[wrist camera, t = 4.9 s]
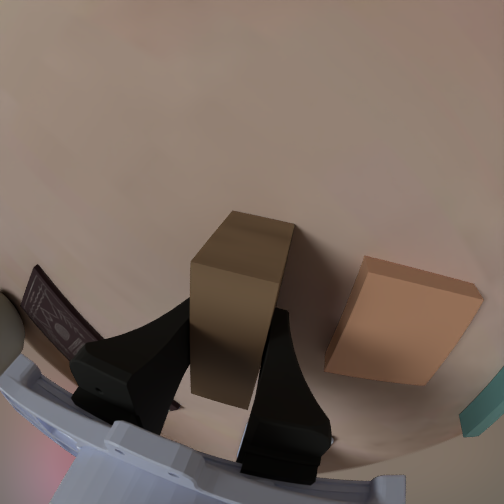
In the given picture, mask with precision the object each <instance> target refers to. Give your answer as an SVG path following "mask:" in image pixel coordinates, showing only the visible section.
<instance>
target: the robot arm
mask: <svg viewBox="0 0 504 504" xmlns="http://www.w3.org/2000/svg"><path fill="white" fill-rule="evenodd" d="M189 365H190V297H189V298H188V299H186V300H185V301H184V302H182V303H181V304H179V305H178V306H177V307H175V308H174V309H172V310H171V311H169V312H168V313H166V314H164V315H163V316H161V317H159V318H158V319H156V320H154V321H152V322H150V323H149V324H147V325H144V326H142V327H140V328H138V329H135V330H133V331H130V332H128V333H125V334H122V335H119V336H115V337H112V338H108V339H104V340H99V341H93V342H87V343H85V344H84V345H83V346H82V347H81V349H80V350H79V351H78V352H77V354H76V355H75V356H74V357H73V359H72V360H71V361H70V369H71V372H72V374H73V376H74V378H75V380H76V382H77V384H78V386H79V387H78V388H77V390H76V391H75V392H74V394H72V393H70V392H68V391H67V390H65V389H63V388H62V387H60V386H58V385H57V384H56V383H54V382H52V381H51V380H49V379H48V378H47V377H45V376H44V375H42V374H41V371H40V369H39V368H38V366H37V365H36V364H35V363H34V362H33V361H31V360H30V359H28V358H27V357H26V356H24V355H23V354H20V355H19V356H18V357H17V358H16V359H15V360H14V362H13V363H12V364H11V365H10V366H9V367H8V368H7V370H6V371H5V372H4V373H3V374H2V375H1V376H0V391H1V393H2V394H3V395H4V396H5V398H6V399H7V400H8V401H9V403H10V404H11V405H12V406H13V408H14V409H15V410H16V411H17V412H18V413H20V414H21V415H22V416H23V417H24V418H26V419H27V420H28V421H29V422H30V423H31V424H33V425H34V426H35V427H36V428H38V429H39V430H40V431H41V432H43V433H44V434H45V435H46V436H48V437H49V438H50V439H52V440H53V441H54V442H56V443H57V444H58V445H60V446H61V447H62V448H64V449H65V450H66V451H68V452H69V453H71V454H72V455H74V456H75V457H76V459H75V460H74V462H73V463H72V465H71V467H70V468H69V470H68V472H67V474H66V475H65V477H64V479H63V480H62V482H61V484H60V485H59V487H58V489H57V491H56V492H55V494H54V496H53V498H52V499H51V501H50V503H49V504H406V476H405V475H381V476H377V477H375V478H374V479H372V480H371V481H353V480H339V479H327V478H317V477H316V476H317V469H318V466H319V465H320V461H321V456H322V455H323V454H324V453H325V452H326V451H327V450H328V449H329V448H330V446H331V444H332V443H333V441H334V439H333V438H332V434H331V426H330V420H329V418H328V417H327V416H326V414H325V413H324V412H323V410H322V409H321V407H320V406H319V404H318V403H317V401H316V400H315V398H314V396H313V394H312V392H311V391H310V389H309V387H308V385H307V383H306V381H305V379H304V376H303V374H302V372H301V369H300V367H299V364H298V361H297V358H296V354H295V351H294V347H293V343H292V338H291V333H290V326H289V312H288V311H287V310H283V309H279V308H275V309H274V313H273V317H272V320H271V324H270V328H269V332H268V336H267V340H266V344H265V348H264V352H263V356H262V361H261V367H260V373H259V379H258V385H257V390H256V395H255V400H254V403H253V407H252V410H251V414H250V417H249V421H248V423H247V424H246V427H245V431H244V434H243V437H242V441H241V444H240V447H239V450H238V453H237V460H236V462H233V461H229V460H225V459H222V458H218V457H215V456H212V455H208V454H205V453H202V452H199V451H196V450H194V449H192V448H190V447H188V446H185V445H183V444H181V443H178V442H175V441H172V440H170V439H167V438H165V437H162V436H160V433H161V431H162V428H163V425H164V422H165V419H166V417H167V414H168V411H169V409H170V406H171V404H172V401H173V399H174V396H175V394H176V391H177V389H178V387H179V384H180V382H181V380H182V377H183V376H184V374H185V372H186V370H187V368H188V366H189Z"/></svg>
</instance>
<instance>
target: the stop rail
mask: <svg viewBox="0 0 504 504" xmlns="http://www.w3.org/2000/svg"><path fill="white" fill-rule="evenodd" d="M503 414H504V367H503V368H502V369H501V370H500V371H499V373H498V374H497V375H496V376H495V377H494V379H493V380H492V381H491V382H490V383H489V384H488V385H487V387H486V388H485V389H484V390H483V391H482V392H481V393H480V394H479V395H478V396H477V397H476V398H475V399H474V401H473V402H472V403H471V404H470V405H469V406H468V407H467V408H466V409H465V410H464V411H463V412H462V413H461V414H459V417H460V422H461V427H462V432H463V437H475V436H479V435H480V434H481V433H483V432H484V431H485V430H486V429H487V428H488V427H490V426H491V425H492V424H493V423H494V422H495V421H496V420H497V419H498V418H499V417H501V416H502V415H503Z"/></svg>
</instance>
